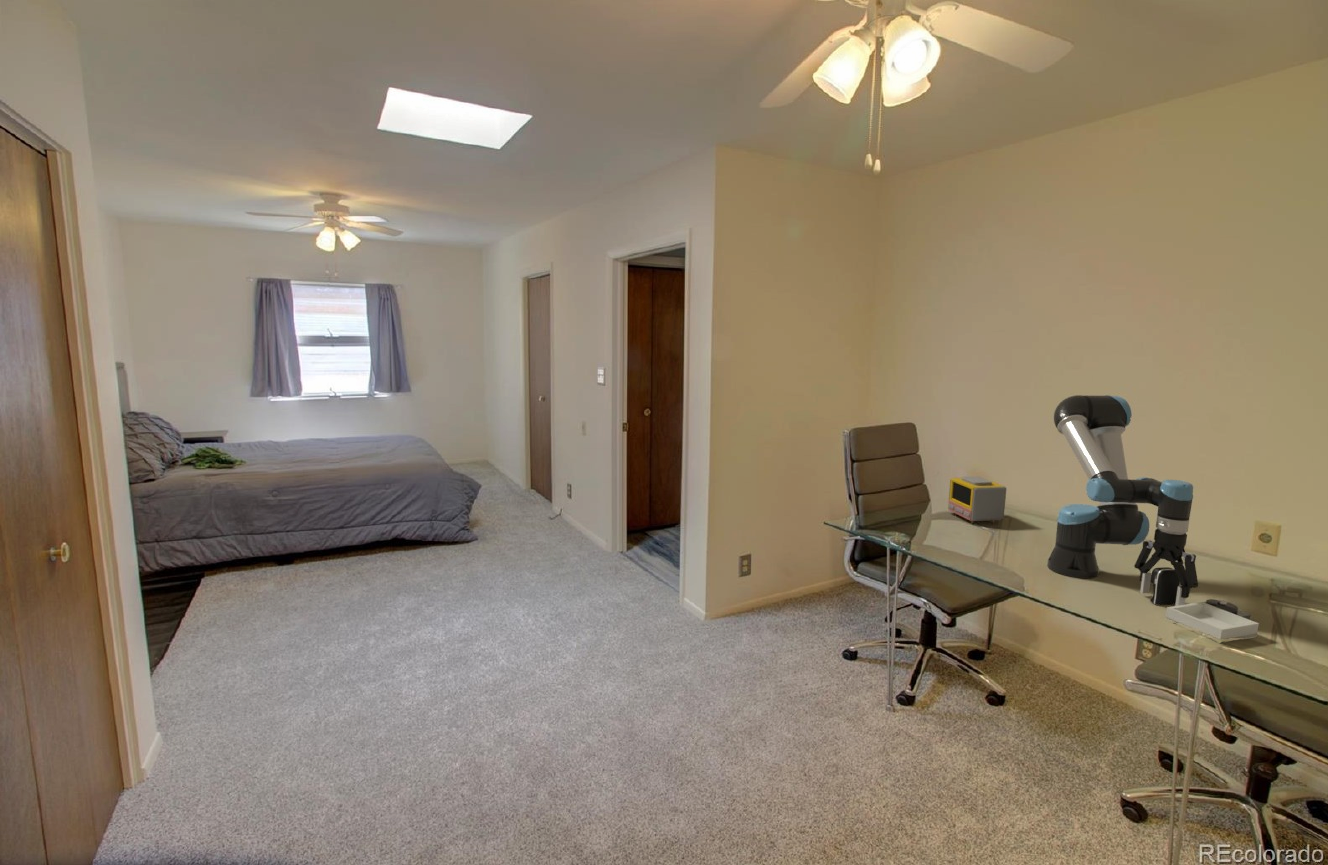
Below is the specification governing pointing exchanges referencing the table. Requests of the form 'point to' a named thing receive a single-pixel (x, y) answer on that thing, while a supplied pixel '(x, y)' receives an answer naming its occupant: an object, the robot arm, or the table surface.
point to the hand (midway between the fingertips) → (1161, 599)
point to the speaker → (1227, 607)
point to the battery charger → (1164, 586)
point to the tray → (1212, 621)
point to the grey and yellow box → (977, 499)
